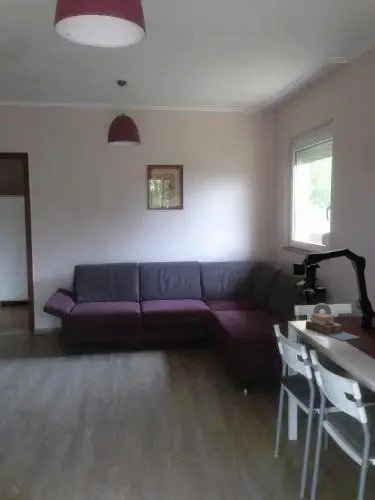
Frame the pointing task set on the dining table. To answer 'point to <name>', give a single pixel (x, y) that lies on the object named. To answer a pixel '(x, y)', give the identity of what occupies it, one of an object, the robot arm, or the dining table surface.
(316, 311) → the donut
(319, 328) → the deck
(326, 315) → the tile upper
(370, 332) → the dining table surface
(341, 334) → the mat
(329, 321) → the tile lower
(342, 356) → the dining table surface
